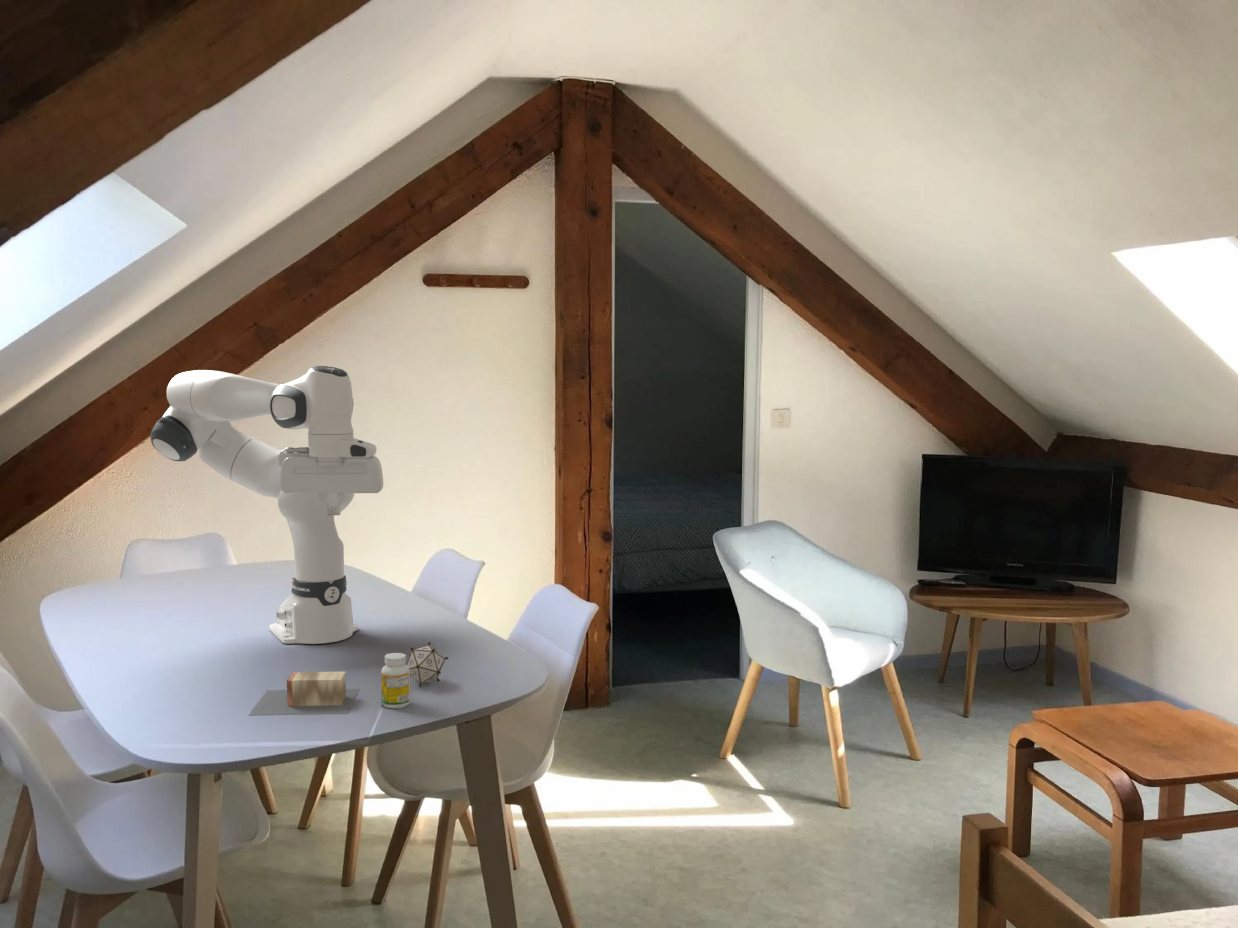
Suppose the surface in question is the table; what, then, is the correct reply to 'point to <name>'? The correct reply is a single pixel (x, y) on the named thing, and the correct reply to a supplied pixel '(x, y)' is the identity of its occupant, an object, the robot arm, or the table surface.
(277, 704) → the rubber mat
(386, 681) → the supplement bottle
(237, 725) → the table surface
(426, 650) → the game die
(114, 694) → the table surface
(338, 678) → the birch block
